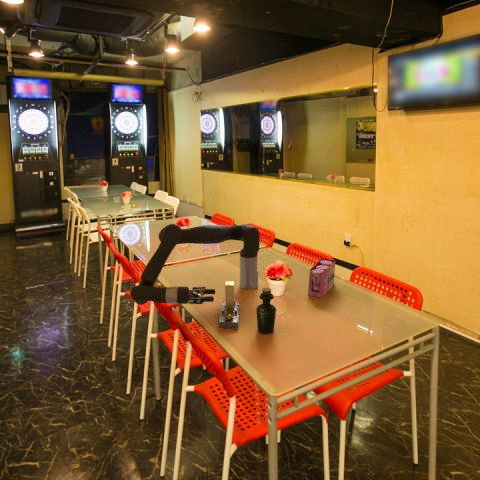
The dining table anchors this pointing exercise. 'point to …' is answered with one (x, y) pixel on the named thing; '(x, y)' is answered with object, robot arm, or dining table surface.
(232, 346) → the dining table surface
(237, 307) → the hand plane
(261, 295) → the potion bottle
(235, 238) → the robot arm
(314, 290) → the gum box
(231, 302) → the wood grain block
